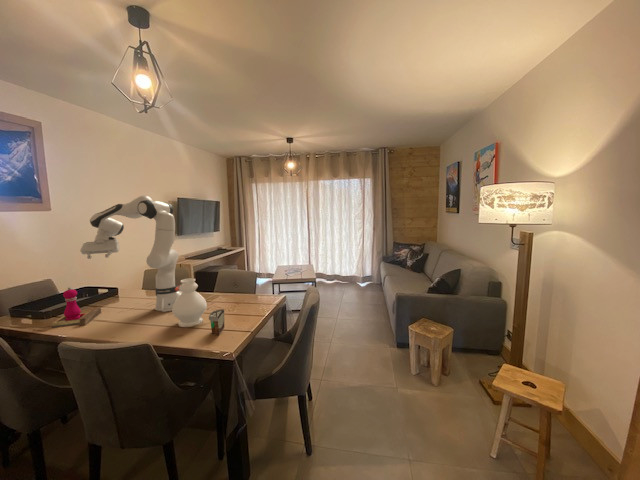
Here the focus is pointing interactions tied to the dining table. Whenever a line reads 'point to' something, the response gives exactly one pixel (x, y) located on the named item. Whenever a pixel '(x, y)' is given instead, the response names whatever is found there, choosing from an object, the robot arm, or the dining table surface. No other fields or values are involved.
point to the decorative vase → (189, 304)
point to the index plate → (63, 321)
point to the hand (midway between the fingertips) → (97, 257)
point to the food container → (217, 321)
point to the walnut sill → (90, 316)
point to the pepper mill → (71, 305)
